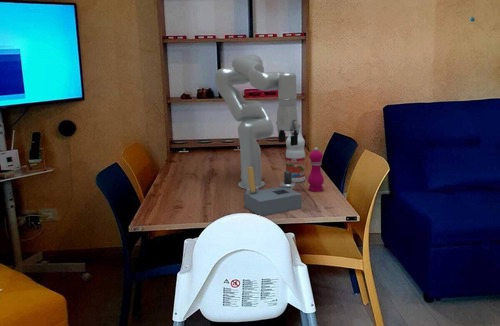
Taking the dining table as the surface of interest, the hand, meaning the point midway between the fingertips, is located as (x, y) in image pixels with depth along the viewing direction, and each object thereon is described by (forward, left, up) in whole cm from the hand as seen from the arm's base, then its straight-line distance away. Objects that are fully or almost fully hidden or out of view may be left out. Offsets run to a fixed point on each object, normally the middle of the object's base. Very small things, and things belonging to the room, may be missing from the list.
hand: (288, 143), depth 205 cm
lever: (+2, -19, -13) cm, 23 cm away
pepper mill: (-5, +18, -25) cm, 31 cm away
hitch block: (+6, -12, -25) cm, 28 cm away
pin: (0, 0, -25) cm, 25 cm away
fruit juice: (-24, +19, -25) cm, 40 cm away
